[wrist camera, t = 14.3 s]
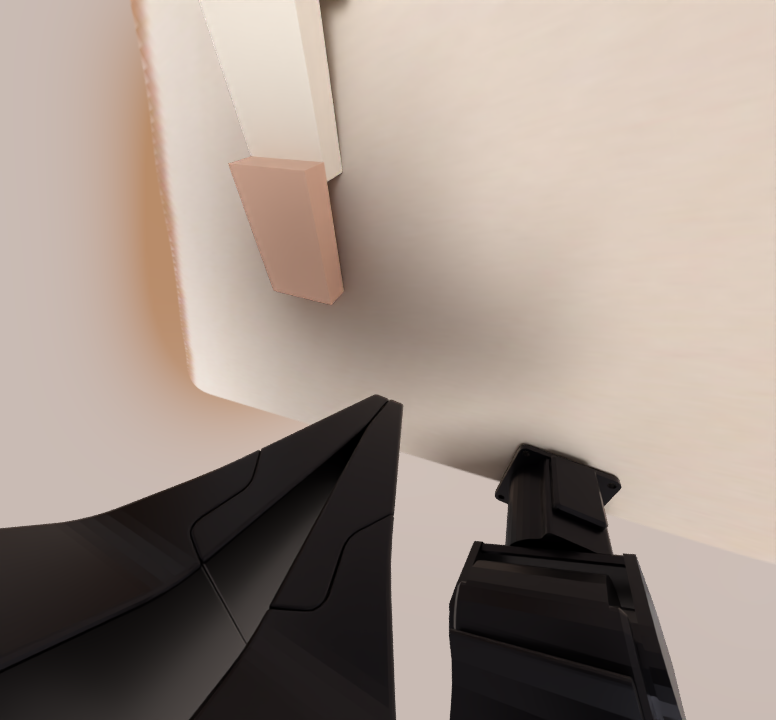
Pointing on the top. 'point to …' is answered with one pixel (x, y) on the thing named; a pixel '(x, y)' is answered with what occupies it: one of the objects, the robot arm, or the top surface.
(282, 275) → the domino
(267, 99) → the domino
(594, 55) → the top surface
